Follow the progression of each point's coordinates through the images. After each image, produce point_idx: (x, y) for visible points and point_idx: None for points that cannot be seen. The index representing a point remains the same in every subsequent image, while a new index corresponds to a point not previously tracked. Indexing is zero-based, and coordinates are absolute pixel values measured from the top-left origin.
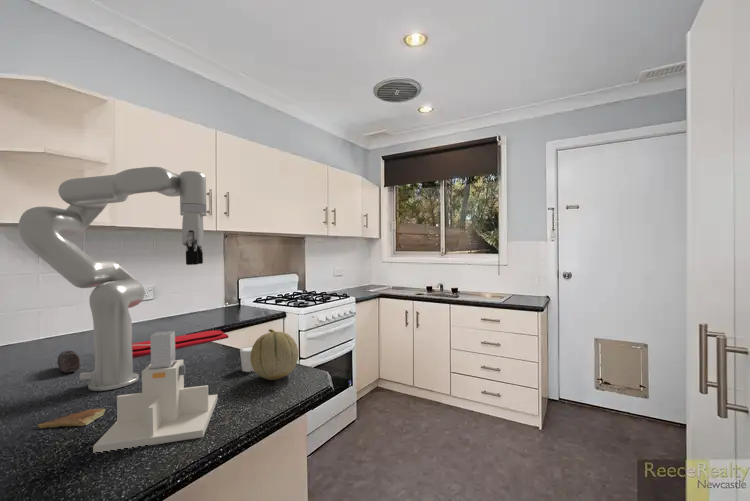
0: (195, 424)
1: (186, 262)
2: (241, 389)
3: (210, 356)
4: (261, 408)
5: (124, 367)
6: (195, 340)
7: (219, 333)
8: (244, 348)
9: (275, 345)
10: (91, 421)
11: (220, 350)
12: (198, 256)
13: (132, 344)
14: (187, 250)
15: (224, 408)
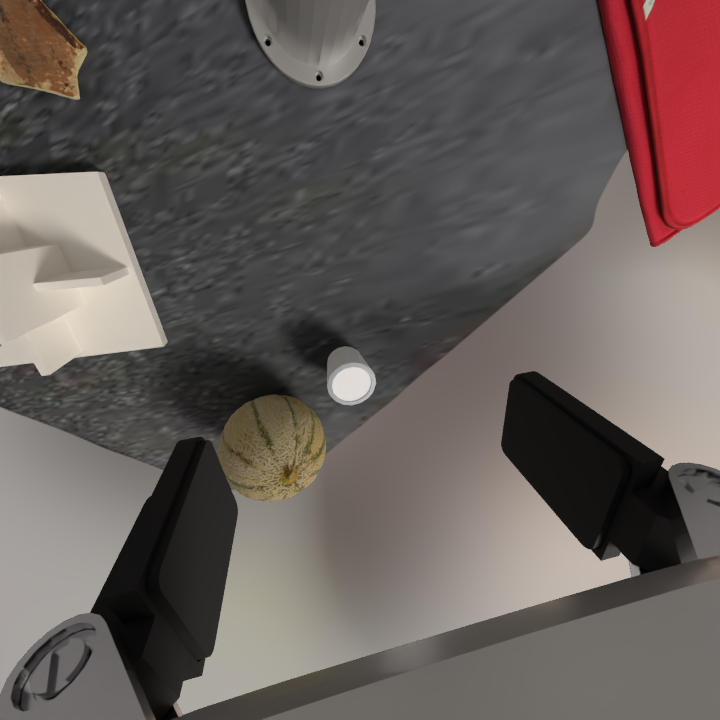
0: (11, 349)
1: (174, 456)
2: (222, 371)
3: (480, 243)
4: (128, 420)
5: (288, 34)
6: (650, 153)
7: (672, 221)
8: (361, 370)
9: (228, 478)
10: (28, 87)
11: (526, 256)
12: (556, 478)
13: None
14: (44, 664)
15: (126, 364)
